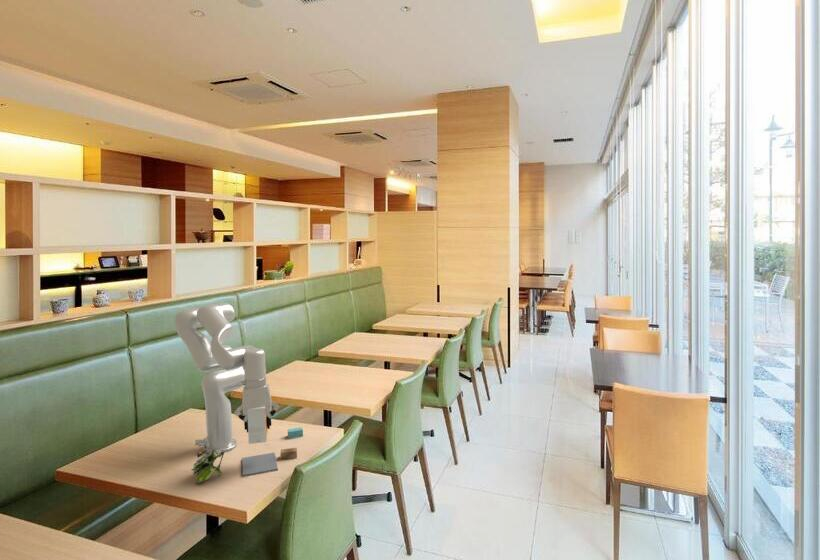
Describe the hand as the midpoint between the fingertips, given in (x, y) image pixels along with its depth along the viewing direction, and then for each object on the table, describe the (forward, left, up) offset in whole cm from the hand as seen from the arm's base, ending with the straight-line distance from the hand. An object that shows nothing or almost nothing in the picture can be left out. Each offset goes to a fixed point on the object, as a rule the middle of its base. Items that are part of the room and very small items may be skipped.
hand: (258, 429), depth 175 cm
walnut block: (+11, +2, -14) cm, 18 cm away
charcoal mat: (0, 0, -14) cm, 14 cm away
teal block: (+16, +21, -14) cm, 30 cm away
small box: (0, 0, -4) cm, 4 cm away
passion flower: (-17, -2, -14) cm, 22 cm away
